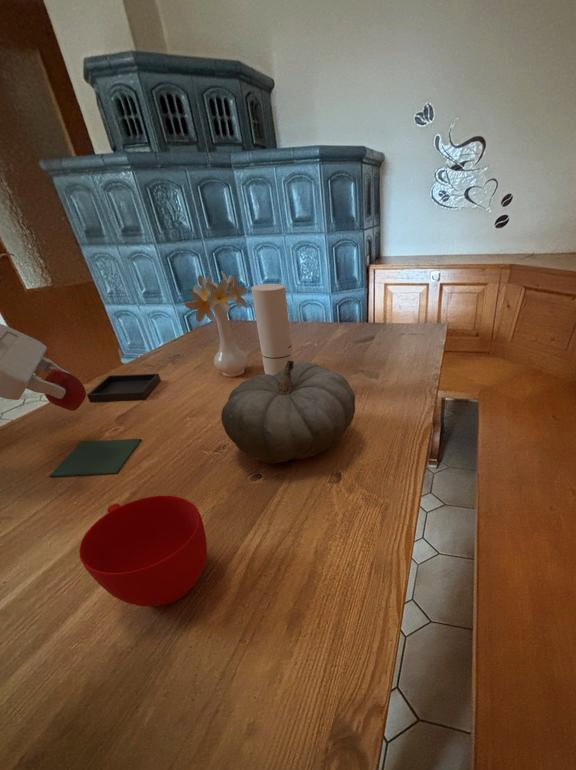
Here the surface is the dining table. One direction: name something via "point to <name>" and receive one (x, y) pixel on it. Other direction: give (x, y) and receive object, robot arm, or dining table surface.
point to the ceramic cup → (147, 550)
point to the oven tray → (124, 388)
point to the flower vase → (221, 319)
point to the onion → (73, 389)
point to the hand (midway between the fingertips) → (67, 386)
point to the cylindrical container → (273, 326)
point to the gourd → (289, 412)
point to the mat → (96, 458)
